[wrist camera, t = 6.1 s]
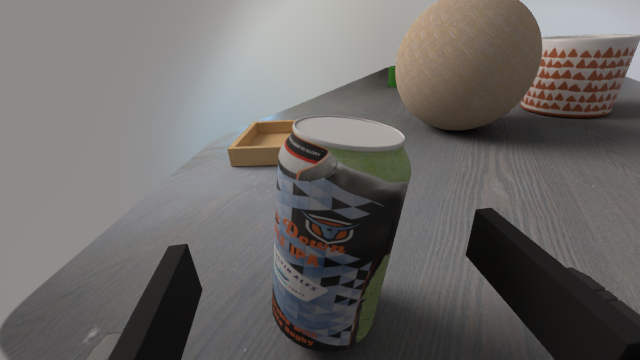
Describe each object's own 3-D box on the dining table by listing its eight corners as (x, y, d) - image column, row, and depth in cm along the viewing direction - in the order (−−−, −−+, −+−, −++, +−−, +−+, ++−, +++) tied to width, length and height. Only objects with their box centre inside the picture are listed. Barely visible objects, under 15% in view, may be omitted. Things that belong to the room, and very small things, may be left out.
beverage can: (266, 294, 19) (233, 117, 14) (364, 263, 21) (368, 99, 16) (290, 389, 14) (251, 163, 9) (417, 336, 16) (449, 127, 11)
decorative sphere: (398, 148, 42) (410, -15, 33) (387, 114, 60) (393, 1, 51) (549, 147, 39) (607, -32, 30) (490, 112, 57) (516, -8, 48)
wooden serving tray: (231, 166, 39) (227, 148, 38) (255, 135, 51) (253, 121, 50) (337, 163, 38) (337, 144, 37) (337, 132, 50) (336, 118, 49)
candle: (395, 82, 96) (397, 50, 92) (419, 83, 92) (422, 49, 87) (383, 86, 91) (385, 52, 86) (408, 87, 86) (411, 51, 81)
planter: (547, 120, 50) (571, 39, 44) (506, 103, 62) (522, 38, 57) (631, 117, 49) (668, 33, 43) (574, 100, 61) (596, 34, 56)
